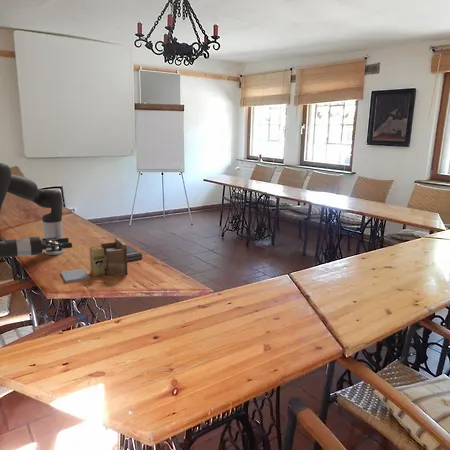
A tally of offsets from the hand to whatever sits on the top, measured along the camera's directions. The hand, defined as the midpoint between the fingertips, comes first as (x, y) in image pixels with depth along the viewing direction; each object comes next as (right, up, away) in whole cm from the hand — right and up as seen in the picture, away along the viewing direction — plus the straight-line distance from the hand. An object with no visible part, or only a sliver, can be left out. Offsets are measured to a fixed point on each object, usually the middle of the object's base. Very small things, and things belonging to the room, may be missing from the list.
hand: (70, 242), depth 174 cm
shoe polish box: (+9, -15, +10) cm, 20 cm away
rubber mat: (0, -15, +5) cm, 16 cm away
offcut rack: (+16, -14, +13) cm, 25 cm away
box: (+14, -9, +35) cm, 39 cm away
